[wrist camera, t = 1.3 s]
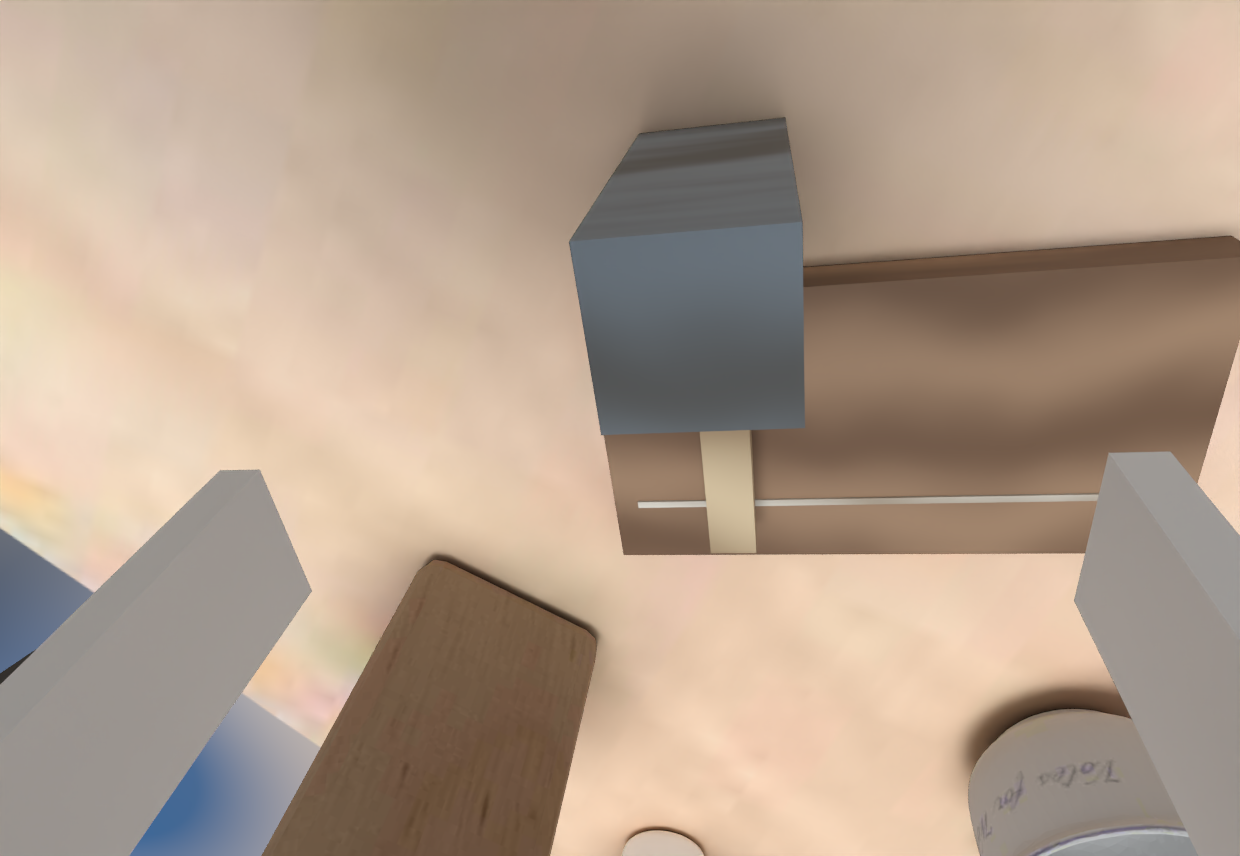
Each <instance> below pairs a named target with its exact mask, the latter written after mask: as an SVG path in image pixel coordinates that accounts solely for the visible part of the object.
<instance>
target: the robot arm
mask: <svg viewBox="0 0 1240 856" xmlns="http://www.w3.org/2000/svg"><path fill="white" fill-rule="evenodd" d="M311 592H312V590H311V588H310V585H309V583H308V581H307V578H306V576H305V574H304V571H303V569H302V567H301V564H300V562H299V560H298V557H297V555H296V553H295V550H294V548H293V546H292V543H291V541H290V539H289V537H288V534H287V532H286V530H285V527H284V525H283V523H282V520H281V518H280V516H279V513H278V511H277V509H276V506H275V504H274V502H273V499H272V497H271V495H270V492H269V490H268V488H267V485H266V483H265V481H264V478H263V476H262V474H261V471H260V470H220V471H219V472H218V473H217V474H216V475H215V476H214V477H213V478H212V479H211V480H210V481H209V482H208V483H207V484H206V485H205V486H204V487H202V488H201V489H200V490H199V491H198V492H197V493H196V494H195V495H194V496H193V497H192V498H191V499H190V500H189V501H188V502H187V503H186V504H185V505H184V506H183V507H182V508H181V509H180V510H179V511H178V512H177V513H176V514H175V515H174V516H173V517H172V518H171V519H170V520H169V521H168V522H167V523H166V524H165V525H164V526H162V527H161V528H160V529H159V530H158V531H157V532H156V533H155V534H154V535H153V536H152V537H151V538H150V539H149V540H148V541H147V542H146V543H145V544H144V545H143V546H142V547H141V548H140V549H139V550H138V551H137V552H136V553H135V554H134V555H133V556H132V557H131V558H130V559H129V560H128V561H127V562H126V563H125V564H124V565H122V566H121V567H120V568H119V569H118V570H117V571H116V572H115V573H114V574H113V575H112V576H111V577H110V578H109V579H108V580H107V581H106V582H105V583H104V584H103V585H102V586H101V587H100V588H99V589H98V590H97V591H96V592H95V593H94V594H93V595H92V596H91V597H90V598H89V599H88V600H87V601H86V602H85V603H84V604H83V605H82V606H81V607H79V608H78V609H77V610H76V611H75V612H74V613H73V614H72V615H71V616H70V617H69V618H68V619H67V620H66V621H65V622H64V623H63V624H62V625H61V626H60V627H59V628H58V629H57V630H56V631H55V632H54V633H53V634H52V635H51V636H50V637H49V638H48V639H47V640H46V641H45V642H44V643H42V645H41V646H39V647H38V648H37V649H36V650H34V651H33V652H31V653H30V654H28V655H27V656H25V657H24V658H22V659H21V660H20V661H18V662H16V663H15V664H14V665H12V666H11V667H9V668H8V669H6V670H5V671H3V672H2V673H0V856H129V855H130V854H131V852H132V851H133V849H134V848H135V846H136V845H137V844H138V842H139V841H140V839H141V838H142V836H143V835H144V833H145V832H146V831H147V829H148V828H149V826H150V825H151V823H152V822H153V820H154V819H155V817H156V816H157V815H158V813H159V812H160V810H161V809H162V807H163V806H164V804H165V803H166V802H167V800H168V798H169V797H170V796H171V794H172V792H173V791H174V790H175V788H176V787H177V786H178V784H179V783H180V781H181V780H182V778H183V777H184V776H185V774H186V773H187V771H188V770H189V768H190V767H191V765H192V764H193V762H194V761H195V760H196V758H197V757H198V755H199V754H200V752H201V751H202V749H203V748H204V746H205V745H206V743H207V742H208V741H209V739H210V738H211V736H212V735H213V733H214V732H215V731H216V729H217V727H218V726H219V725H220V723H221V722H222V720H223V719H224V718H225V716H226V715H227V713H228V712H229V710H230V709H231V707H232V706H233V705H234V703H235V702H236V700H237V699H238V697H239V696H240V694H241V693H242V692H243V690H244V689H245V687H246V686H247V684H248V683H249V681H250V680H251V678H252V677H253V676H254V674H255V673H256V671H257V670H258V668H259V667H260V665H261V664H262V663H263V661H264V660H265V658H266V657H267V655H268V654H269V652H270V651H271V650H272V648H273V647H274V645H275V644H276V642H277V641H278V639H279V638H280V636H281V635H282V634H283V632H284V631H285V629H286V628H287V626H288V625H289V623H290V622H291V621H292V619H293V618H294V616H295V615H296V613H297V612H298V610H299V609H300V608H301V606H302V605H303V603H304V602H305V600H306V599H307V597H308V596H309V594H310V593H311ZM1074 602H1075V604H1076V606H1077V608H1078V610H1079V612H1080V614H1081V616H1082V618H1083V620H1084V622H1085V624H1086V626H1087V628H1088V630H1089V632H1090V634H1091V636H1092V639H1093V641H1094V643H1095V645H1096V647H1097V649H1098V651H1099V653H1100V655H1101V657H1102V659H1103V661H1104V663H1105V665H1106V667H1107V669H1108V671H1109V673H1110V676H1111V678H1112V680H1113V682H1114V684H1115V686H1116V688H1117V690H1118V692H1119V694H1120V696H1121V698H1122V700H1123V702H1124V704H1125V706H1126V708H1127V710H1128V712H1129V715H1130V717H1131V719H1132V721H1133V723H1134V725H1135V727H1136V729H1137V731H1138V733H1139V735H1140V737H1141V739H1142V741H1143V743H1144V745H1145V747H1146V749H1147V751H1148V754H1149V756H1150V758H1151V760H1152V762H1153V764H1154V766H1155V768H1156V770H1157V772H1158V774H1159V776H1160V778H1161V780H1162V782H1163V784H1164V786H1165V788H1166V790H1167V793H1168V795H1169V797H1170V799H1171V801H1172V803H1173V805H1174V807H1175V809H1176V811H1177V813H1178V815H1179V817H1180V819H1181V821H1182V823H1183V825H1184V827H1185V829H1186V832H1187V834H1188V836H1189V838H1190V840H1191V842H1192V844H1193V846H1194V848H1195V850H1196V852H1197V854H1198V856H1240V535H1239V534H1238V533H1237V532H1236V531H1235V529H1234V528H1233V527H1232V526H1231V525H1230V523H1229V522H1228V521H1227V520H1226V518H1225V517H1224V516H1223V515H1222V514H1221V512H1220V511H1219V510H1218V509H1217V508H1216V506H1215V505H1214V504H1213V503H1212V501H1211V500H1210V499H1209V498H1208V497H1207V495H1206V494H1205V493H1204V492H1203V490H1202V489H1201V488H1200V487H1199V486H1198V484H1197V483H1196V482H1195V481H1194V480H1193V478H1192V477H1191V476H1190V475H1189V473H1188V472H1187V471H1186V470H1185V469H1184V467H1183V466H1182V465H1181V464H1180V463H1179V461H1178V460H1177V459H1176V458H1175V456H1174V455H1173V454H1172V453H1171V452H1125V453H1109V454H1108V458H1107V462H1106V467H1105V471H1104V475H1103V479H1102V484H1101V488H1100V492H1099V496H1098V501H1097V505H1096V509H1095V514H1094V518H1093V522H1092V526H1091V531H1090V535H1089V539H1088V543H1087V548H1086V552H1085V556H1084V561H1083V565H1082V569H1081V573H1080V578H1079V582H1078V586H1077V590H1076V595H1075V599H1074Z"/></svg>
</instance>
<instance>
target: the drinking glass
mask: <svg viewBox="0 0 1240 856" xmlns="http://www.w3.org/2000/svg"><path fill="white" fill-rule="evenodd" d="M622 856H704V854H703V852H702V851H701V849H700V848H699V847H698V846H697V845H696V844H695V843H694V842H693V841H691V840H690V839H688V838H686V837H684V836H682V835H680V834H677V833H673V832H669V831H662V830H653V831H646V832H642V833H639V834H637V835H635V836H633V837H632V838H631V839H629V841H628V842H627V843H626V845H625V846H624V849H623V852H622Z"/></svg>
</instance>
